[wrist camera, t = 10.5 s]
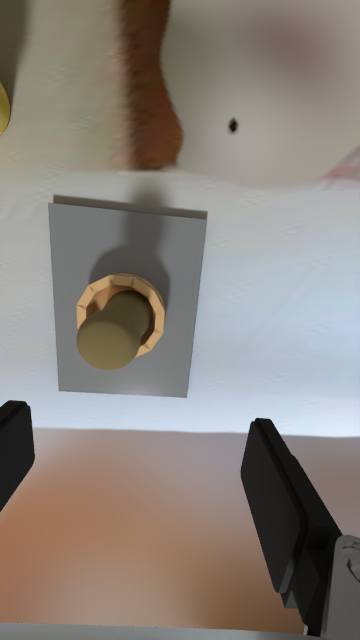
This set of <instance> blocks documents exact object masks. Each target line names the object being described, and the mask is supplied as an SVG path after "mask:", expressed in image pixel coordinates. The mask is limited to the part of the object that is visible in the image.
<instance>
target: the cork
mask: <svg viewBox="0 0 360 640" xmlns="http://www.w3.org/2000/svg"><path fill="white" fill-rule="evenodd" d="M152 320H153V309H152V306H151V304H150V302H149V301H148V299H147V298H146V297H145V296H143V295H142V294H141V293H138V292H136V291H132V290H124V291H120V292H117V293H116V294H114V295H113V296H111V298H110V299H109V300H108V301H107V303H106V305H105V306H104V308H103V309H102V310H101V311H97V312H95V313H93V314H92V315H90V316H89V317H87V318H86V319H85V320H84V321H83V323H82V324H81V325H80V327H79V330H78V333H77V336H76V340H77V348H78V350H79V353H80V355H81V356H82V357H83V359H84V360H85V361H86V362H87V363H88V364H90V365H91V366H93V367H95V368H98V369H101V370H111V371H112V370H116V369H121V368H122V367H124V366H126V365H127V364H129V363H130V362H131V361H132V360H133V359H134V358H135V357H136V355H137V353H138V350H139V348H140V344H141V336H142V335H143V334H144V333H145V331H146V330H147V329H148V328H149V327H150V325H151V323H152Z"/></svg>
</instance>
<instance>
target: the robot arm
mask: <svg viewBox="0 0 360 640" xmlns="http://www.w3.org/2000/svg"><path fill="white" fill-rule="evenodd" d="M34 459H35V453H34V442H33V431H32V420H31V409H30V406H28V405H27V403H26V402H25V401H13V400H10V401H7V402H6V403H5V404H3V405H2V406H1V407H0V512H1V510H2V509H3V507H4V506H5V505H6V503H7V502H8V500H9V498H10V497H11V496H12V494H13V493H14V491H15V490H16V488H17V487H18V486H19V484H20V483H21V482H22V480H23V478H24V477H25V476H26V474H27V473H28V471H29V470H30V469H31V467H32V465H33V463H34ZM241 479H242V483H243V486H244V490H245V493H246V497H247V500H248V503H249V506H250V510H251V513H252V517H253V520H254V524H255V527H256V530H257V534H258V537H259V540H260V544H261V546H262V550H263V554H264V557H265V560H266V563H267V567H268V570H269V574H270V577H271V580H272V584H273V586H274V589H275V591H276V592H277V593H280V594H281V597H282V601H283V604H284V607H285V608H297V609H299V613H300V615H301V618H302V621H303V623H304V624H305V629H304V635H300V634H290V633H273V632H258V631H242V630H217V629H191V628H164V627H163V628H162V627H134V626H101V625H69V624H68V625H66V624H34V623H33V624H32V623H0V640H360V538H358V537H355V536H351V535H343V534H342V533H341V531H340V530H339V528H338V526H337V525H336V523H335V521H334V520H333V518H332V516H331V515H330V513H329V511H328V510H327V508H326V506H325V505H324V503H323V501H322V500H321V498H320V497H319V495H318V493H317V492H316V490H315V488H314V487H313V485H312V483H311V482H310V480H309V479H308V477H307V475H306V473H305V472H304V470H303V468H302V467H301V466H300V464H299V462H298V460H297V459H296V458H295V457H294V456H293V455H292V454H291V453H290V451H289V449H288V448H287V446H286V444H285V443H284V441H283V439H282V438H281V436H280V434H279V432H278V431H277V429H276V427H275V426H274V424H273V422H272V421H271V420H270V419H264V418H256V419H255V421H252V422H251V424H250V429H249V433H248V438H247V443H246V448H245V452H244V457H243V461H242V466H241Z"/></svg>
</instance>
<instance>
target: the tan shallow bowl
mask: <svg viewBox="0 0 360 640" xmlns="http://www.w3.org/2000/svg"><path fill="white" fill-rule="evenodd" d="M124 290H132V291H136V292H138V293H141V294H142V295H143V296H145V297H146V298H147V299H148V301H149V302H150V304H151V306H152V309H153V320H152V323H151V325H150V327H149V328H148V329H147V330H146V331H145V333H144V334H143V335H142V336H141V344H140V348H139V350H138V353H137V355H136V357H138V356H140V355H142V354H144V353H147V352H149V351H151V349H152V348H153V347H154V345H155V344H156V343H157V341H158V340H159V338H160V337H161V336H162V334H163V328H164V321H165V306H164V302H163V299H162V297H161V295H160V293H159V292H158V290H157V289H156V288H155V287H154V286H153V285H152V284H151V283H150V282H149V281H147V280H146V279H144V278H142V277H140V276H137V275H134V274H128V273H120V274H112V275H109V276H107V277H105V278H103V279H100V280H98V281H96V282H94V283H92V284H90V285H88V287H87V288H86V290H85V292H84V293H83V295H82V297H81V298H80V300H79V302H78V303H77V328H78V329H79V327H80V325H81V324H82V323H83V321H84V320H85V319H86V318H87V317H89V316H90V315H92V314H93V313H95V312H97V311H101V310H102V309H103V308H104V306H105V305H106V303H107V301H108V300H109V299H110V298H111V296H113V295H114V294H116V293H117V292H120V291H124ZM136 357H135V358H136Z"/></svg>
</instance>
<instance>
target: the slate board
mask: <svg viewBox="0 0 360 640" xmlns="http://www.w3.org/2000/svg"><path fill="white" fill-rule="evenodd" d="M48 208H49V225H50V243H51V260H52V278H53V295H54V313H55V330H56V348H57V365H58V383H59V391H67V392H86V393H105V394H124V395H143V396H162V397H181V398H187V390H188V381H189V373H190V364H191V355H192V346H193V337H194V328H195V319H196V310H197V301H198V293H199V284H200V275H201V266H202V257H203V248H204V239H205V230H206V221H207V220H205V219H195V218H186V217H177V216H167V215H158V214H149V213H139V212H130V211H121V210H111V209H102V208H93V207H83V206H74V205H65V204H55V203H48ZM120 273H128V274H134V275H137V276H140V277H142V278H144V279H146V280H147V281H149V282H150V283H151V284H152V285H153V286H154V287H155V288H156V289H157V290H158V292H159V293H160V295H161V297H162V299H163V302H164V306H165V321H164V328H163V334H162V336H161V337H160V338H159V340H158V341H157V343H156V344H155V345H154V347H153V348H152V349H151V351H149V352H147V353H144V354H142V355H140V356H138V357H136V358H134V359H133V360H132V361H131V362H130V363H129V364H127V365H126V366H124V367H122V368H121V369H116V370H112V371H111V370H101V369H98V368H95V367H93V366H91V365H90V364H88V363H87V362H86V361H85V360H84V359H83V357H82V356H81V355H80V353H79V350H78V348H77V340H76V336H77V333H78V330H79V329H78V328H77V303H78V302H79V300H80V298H81V297H82V295H83V293H84V292H85V290H86V288H87V287H88V285H90V284H92V283H94V282H96V281H98V280H100V279H103V278H105V277H107V276H109V275H112V274H120Z"/></svg>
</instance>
